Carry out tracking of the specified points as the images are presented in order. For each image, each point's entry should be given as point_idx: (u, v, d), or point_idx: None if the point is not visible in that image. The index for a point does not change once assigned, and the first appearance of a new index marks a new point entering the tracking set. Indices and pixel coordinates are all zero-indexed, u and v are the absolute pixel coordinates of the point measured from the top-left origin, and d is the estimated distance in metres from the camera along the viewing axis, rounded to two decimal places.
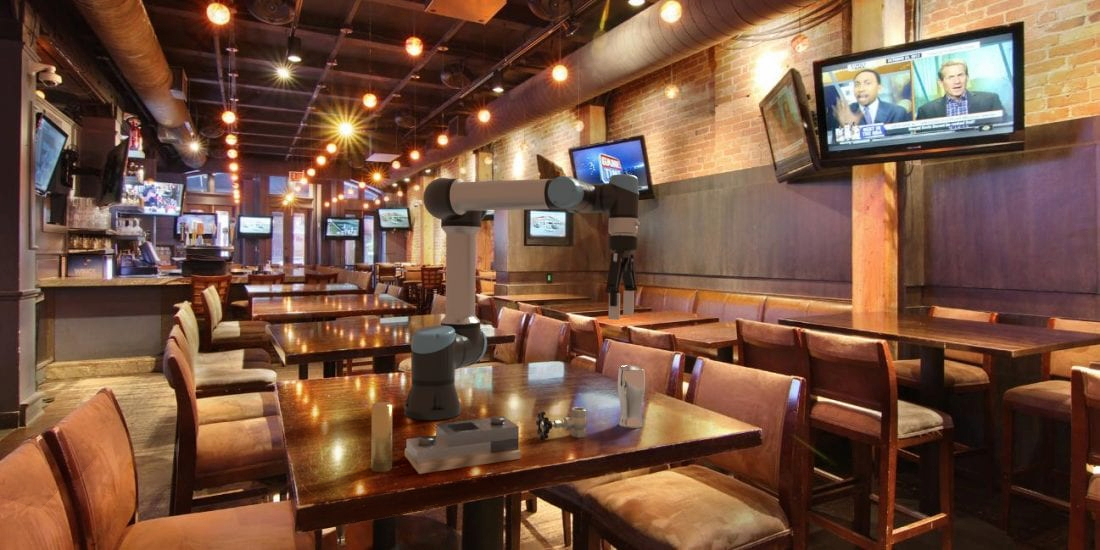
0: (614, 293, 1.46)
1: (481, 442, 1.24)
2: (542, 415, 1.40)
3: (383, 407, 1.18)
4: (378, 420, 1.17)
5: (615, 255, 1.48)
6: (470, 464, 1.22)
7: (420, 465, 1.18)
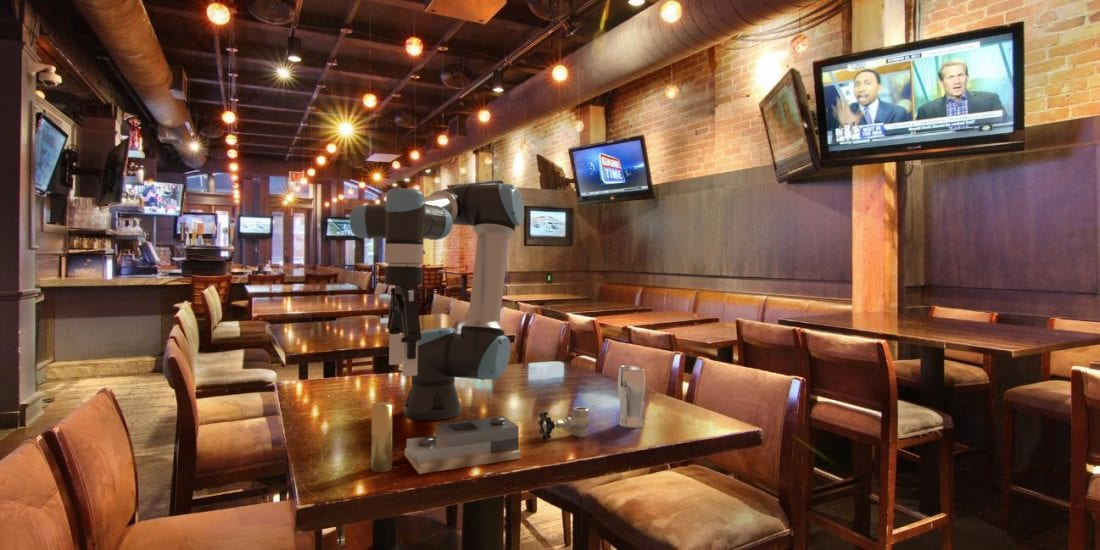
0: (414, 342, 1.14)
1: (481, 442, 1.24)
2: (544, 415, 1.40)
3: (383, 407, 1.18)
4: (378, 420, 1.17)
5: (411, 293, 1.15)
6: (470, 464, 1.22)
7: (420, 465, 1.18)
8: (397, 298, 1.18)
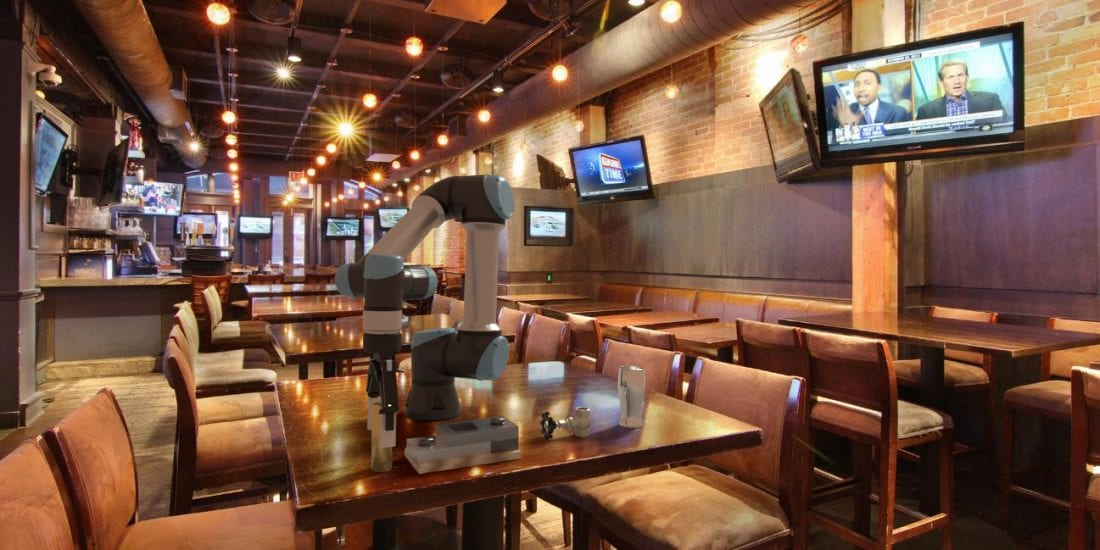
0: (392, 414, 1.12)
1: (481, 442, 1.24)
2: (546, 415, 1.40)
3: None
4: (377, 420, 1.17)
5: (389, 363, 1.13)
6: (470, 464, 1.22)
7: (420, 465, 1.18)
8: (375, 366, 1.16)
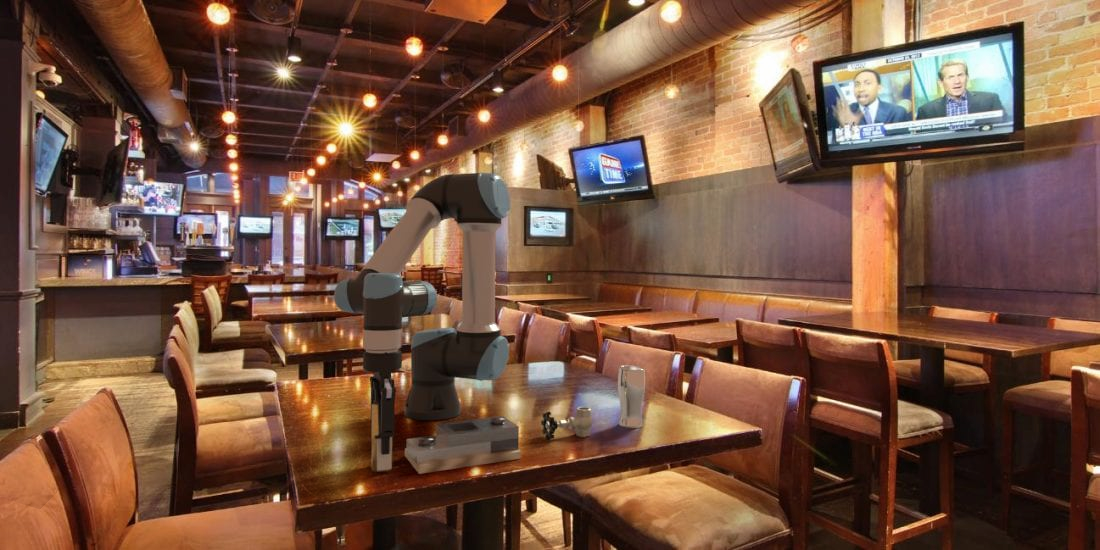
0: (388, 438, 1.16)
1: (481, 442, 1.24)
2: (548, 415, 1.41)
3: None
4: None
5: (389, 392, 1.13)
6: (470, 464, 1.22)
7: (420, 465, 1.18)
8: (375, 387, 1.17)
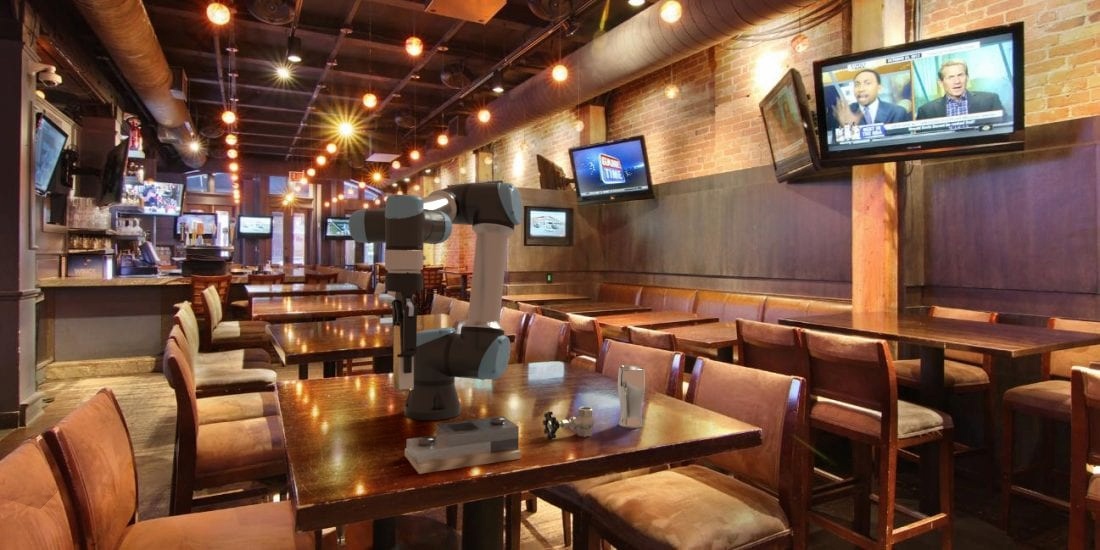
0: (410, 357, 1.18)
1: (481, 442, 1.24)
2: (549, 415, 1.41)
3: None
4: (399, 340, 1.19)
5: (411, 309, 1.15)
6: (470, 464, 1.22)
7: (420, 465, 1.18)
8: (397, 307, 1.18)
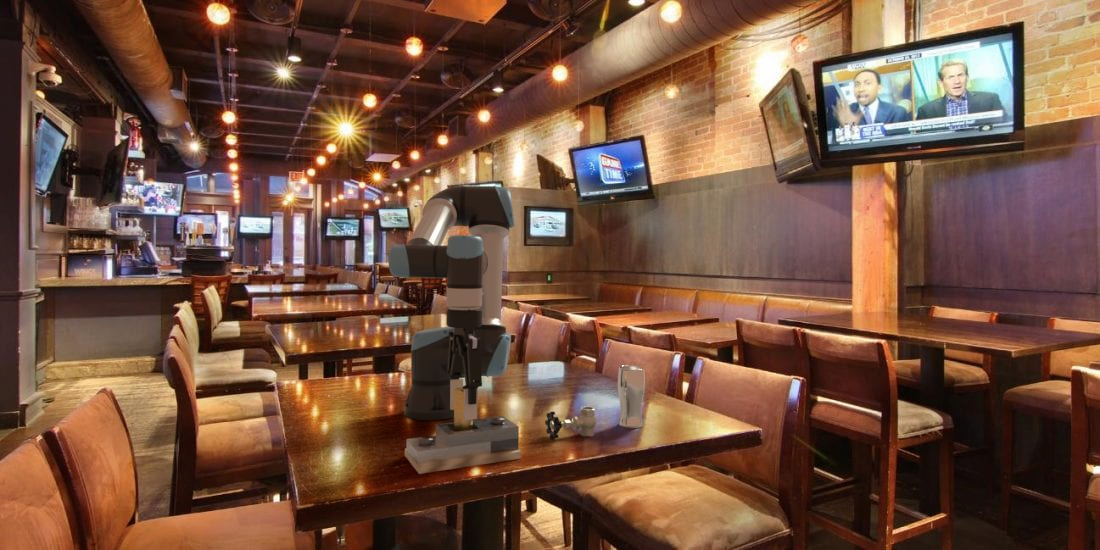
0: (475, 389, 1.22)
1: (481, 442, 1.24)
2: (552, 415, 1.41)
3: None
4: (461, 404, 1.25)
5: (475, 341, 1.21)
6: (470, 464, 1.22)
7: (420, 465, 1.18)
8: (459, 341, 1.24)
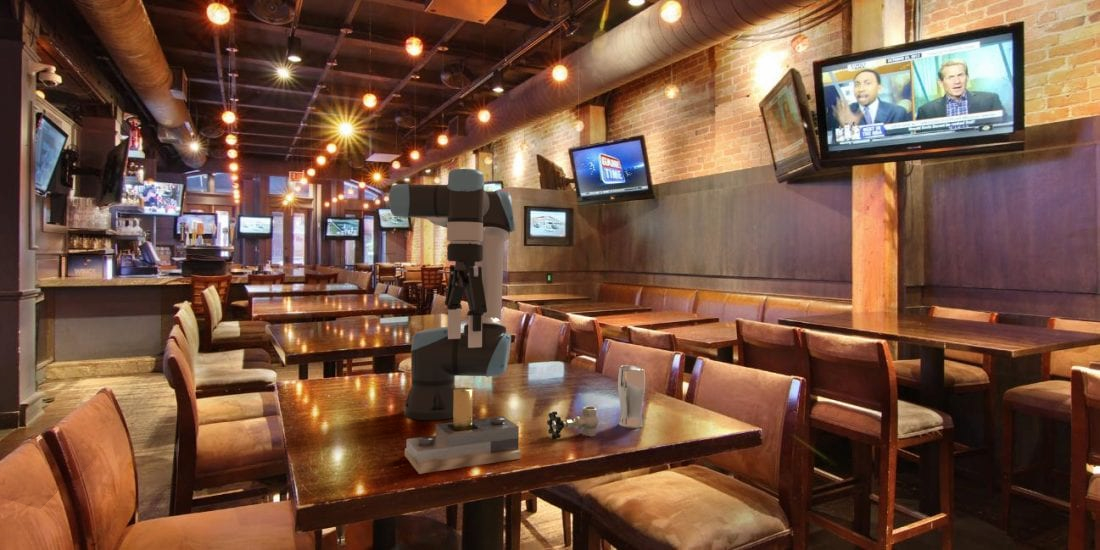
0: (480, 315, 1.19)
1: (481, 442, 1.24)
2: (554, 415, 1.41)
3: (465, 392, 1.25)
4: (460, 404, 1.25)
5: (476, 268, 1.20)
6: (470, 464, 1.22)
7: (420, 465, 1.18)
8: (460, 274, 1.24)
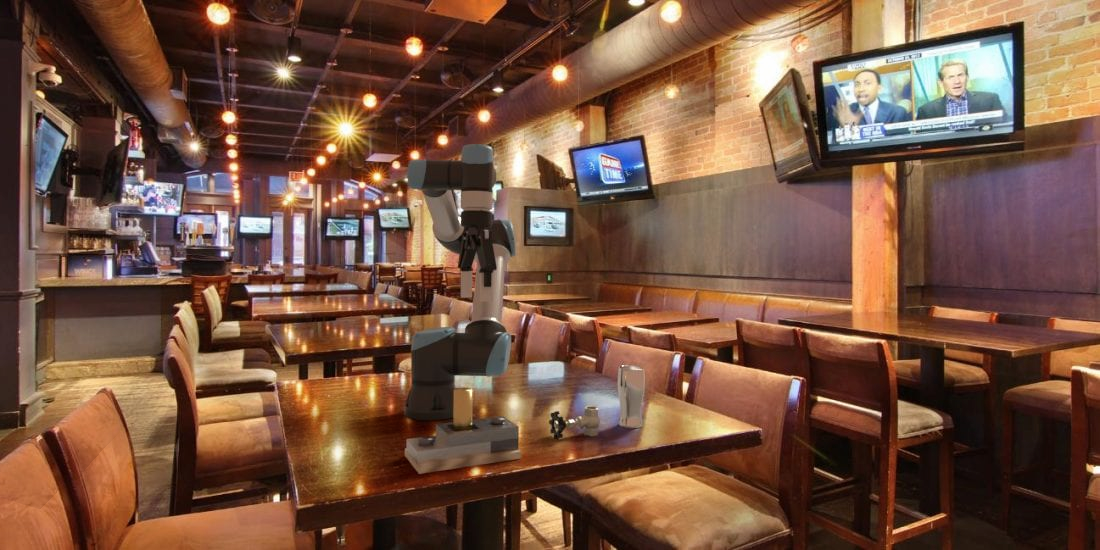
0: (490, 273, 1.35)
1: (481, 442, 1.24)
2: (556, 414, 1.41)
3: (465, 392, 1.25)
4: (460, 404, 1.25)
5: (486, 232, 1.36)
6: (470, 464, 1.22)
7: (420, 465, 1.18)
8: (472, 237, 1.40)
